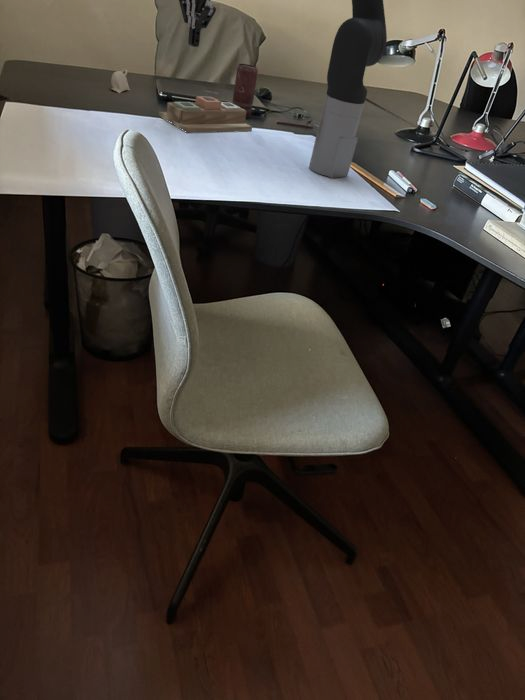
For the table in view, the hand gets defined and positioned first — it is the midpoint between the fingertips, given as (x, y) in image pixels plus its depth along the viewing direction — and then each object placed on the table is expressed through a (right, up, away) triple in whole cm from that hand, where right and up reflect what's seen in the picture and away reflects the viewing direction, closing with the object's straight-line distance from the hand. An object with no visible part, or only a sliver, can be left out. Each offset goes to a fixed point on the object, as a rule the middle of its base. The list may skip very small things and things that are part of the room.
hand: (193, 45), depth 130 cm
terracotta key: (+2, -10, +13) cm, 16 cm away
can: (+11, -4, +30) cm, 32 cm away
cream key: (+7, -9, +18) cm, 22 cm away
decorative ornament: (-26, +3, +28) cm, 38 cm away
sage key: (-3, -13, +10) cm, 17 cm away
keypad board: (+2, -13, +15) cm, 20 cm away
